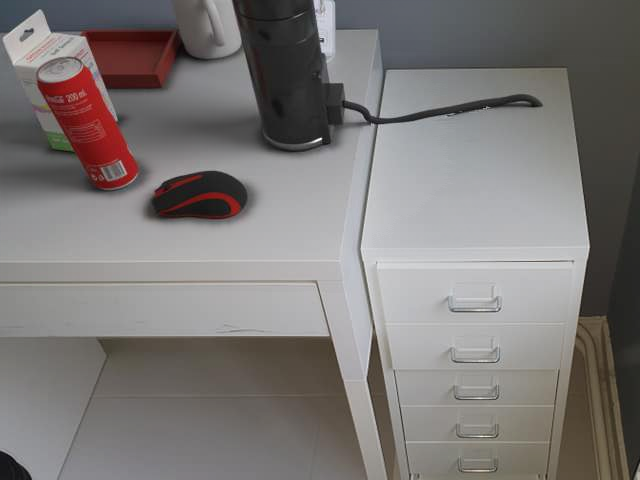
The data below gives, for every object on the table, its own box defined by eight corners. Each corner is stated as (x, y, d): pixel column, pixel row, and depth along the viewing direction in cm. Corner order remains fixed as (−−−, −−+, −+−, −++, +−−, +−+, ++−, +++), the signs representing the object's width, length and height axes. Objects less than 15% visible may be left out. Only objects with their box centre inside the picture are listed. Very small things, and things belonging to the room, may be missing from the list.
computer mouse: (161, 188, 91) (151, 160, 88) (251, 185, 91) (243, 158, 88) (151, 221, 87) (139, 193, 84) (244, 218, 87) (236, 190, 84)
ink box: (87, 155, 95) (35, 44, 83) (52, 150, 95) (-4, 39, 84) (120, 118, 100) (77, 10, 89) (87, 114, 101) (39, 6, 89)
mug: (179, 39, 114) (156, -35, 106) (232, 28, 117) (214, -45, 109) (200, 75, 108) (177, -1, 99) (256, 62, 110) (239, -13, 102)
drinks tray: (181, 42, 114) (177, 29, 112) (162, 87, 105) (157, 74, 104) (88, 43, 113) (83, 29, 112) (61, 88, 105) (55, 74, 103)
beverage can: (150, 173, 92) (105, 61, 81) (108, 200, 89) (55, 87, 77) (118, 158, 94) (70, 46, 83) (76, 184, 91) (19, 70, 79)
